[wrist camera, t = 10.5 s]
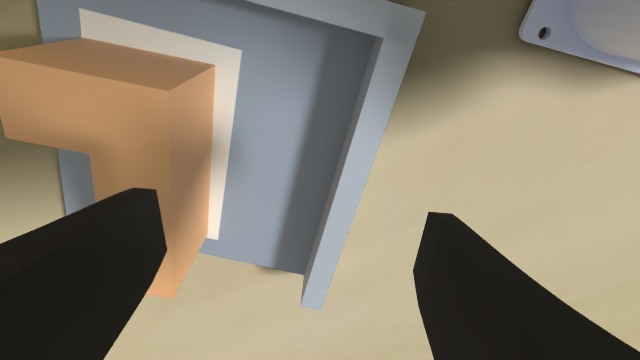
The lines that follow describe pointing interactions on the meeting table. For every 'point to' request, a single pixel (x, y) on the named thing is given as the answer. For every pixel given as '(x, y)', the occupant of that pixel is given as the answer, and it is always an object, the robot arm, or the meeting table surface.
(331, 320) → the meeting table surface
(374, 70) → the walls
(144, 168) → the bracket
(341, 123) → the board
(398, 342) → the meeting table surface
